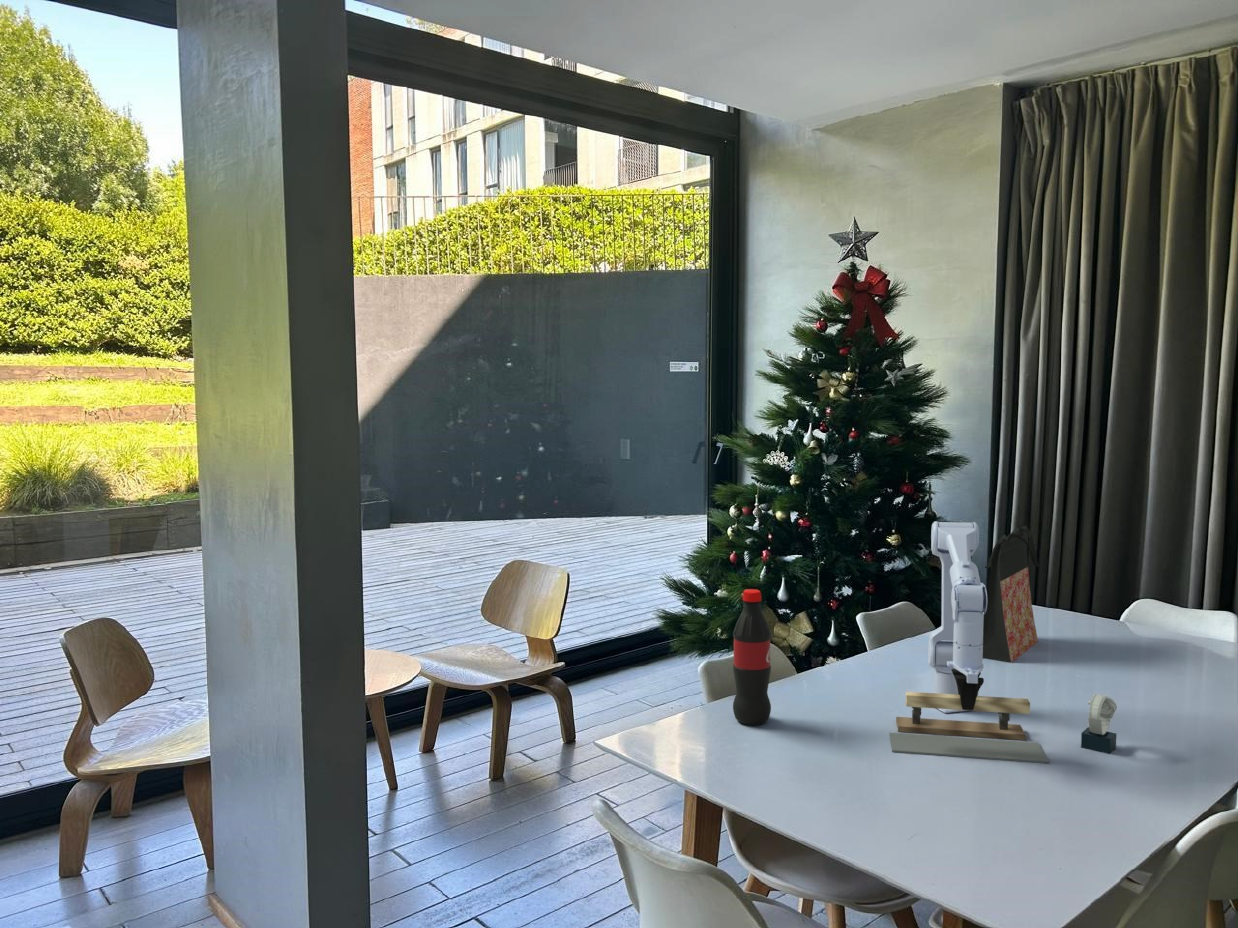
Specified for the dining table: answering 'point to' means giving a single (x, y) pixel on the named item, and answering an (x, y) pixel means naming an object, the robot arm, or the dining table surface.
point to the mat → (967, 747)
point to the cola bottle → (752, 662)
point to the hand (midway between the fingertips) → (966, 706)
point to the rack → (961, 727)
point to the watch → (1100, 725)
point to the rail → (980, 705)
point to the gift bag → (1009, 599)
